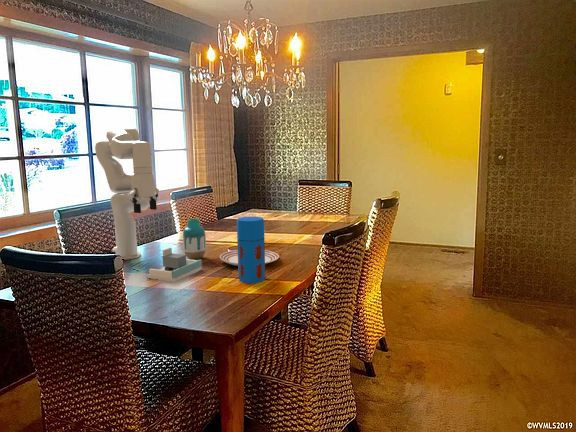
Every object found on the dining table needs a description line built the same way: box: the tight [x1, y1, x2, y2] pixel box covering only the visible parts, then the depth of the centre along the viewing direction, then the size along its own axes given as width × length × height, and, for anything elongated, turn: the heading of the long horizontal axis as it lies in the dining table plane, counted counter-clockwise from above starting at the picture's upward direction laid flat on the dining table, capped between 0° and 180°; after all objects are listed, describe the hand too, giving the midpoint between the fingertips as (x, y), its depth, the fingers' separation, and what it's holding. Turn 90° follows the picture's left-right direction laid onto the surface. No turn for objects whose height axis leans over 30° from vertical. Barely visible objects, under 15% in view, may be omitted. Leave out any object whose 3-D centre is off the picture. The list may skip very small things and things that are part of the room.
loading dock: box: [146, 258, 203, 283], centre depth 195 cm, size 14×19×4 cm
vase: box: [182, 217, 207, 260], centre depth 218 cm, size 11×11×19 cm
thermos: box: [236, 216, 266, 284], centre depth 185 cm, size 11×11×25 cm
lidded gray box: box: [161, 247, 187, 271], centre depth 195 cm, size 8×6×9 cm
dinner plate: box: [219, 249, 280, 267], centre depth 213 cm, size 28×27×3 cm
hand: (145, 211), depth 197 cm, fingers open, 9 cm apart
